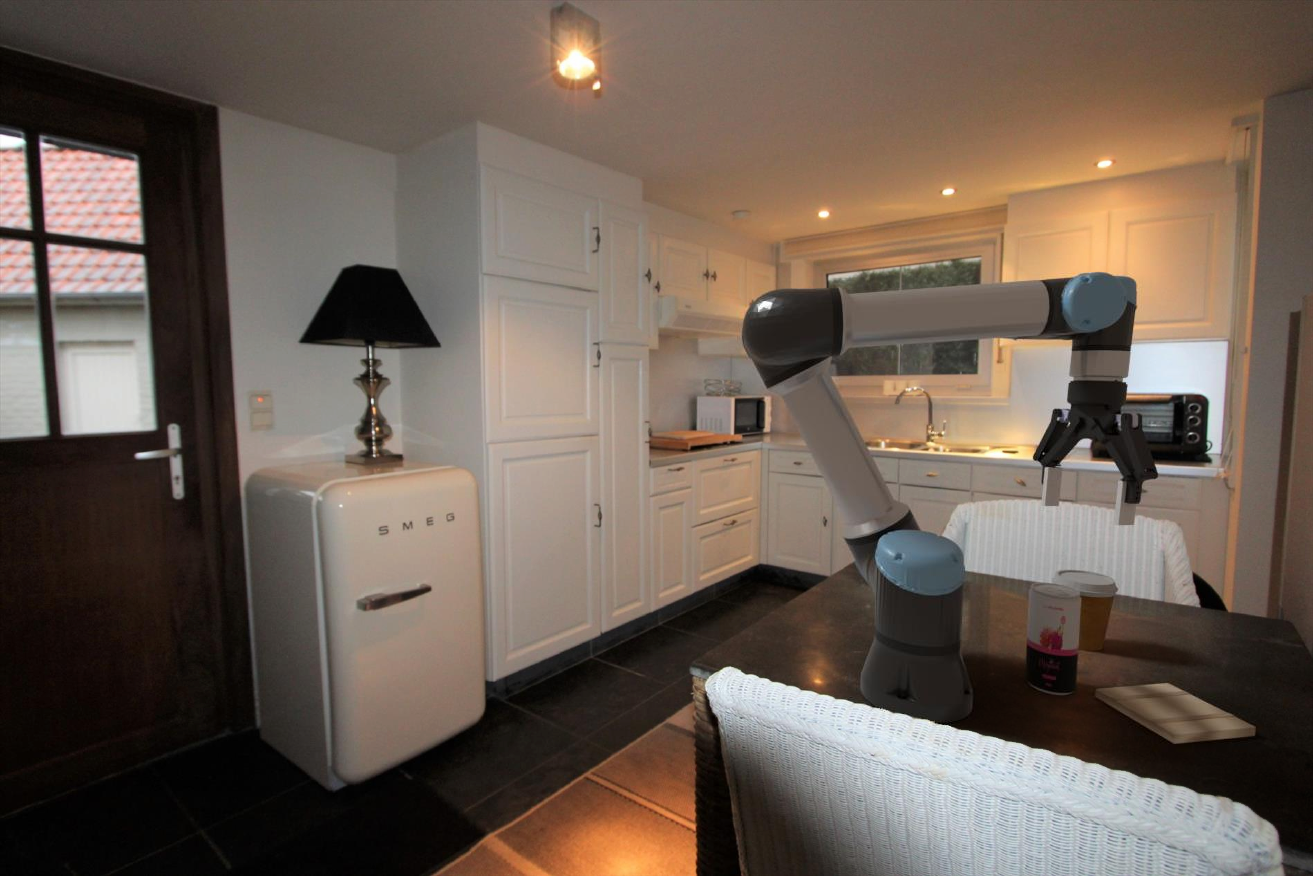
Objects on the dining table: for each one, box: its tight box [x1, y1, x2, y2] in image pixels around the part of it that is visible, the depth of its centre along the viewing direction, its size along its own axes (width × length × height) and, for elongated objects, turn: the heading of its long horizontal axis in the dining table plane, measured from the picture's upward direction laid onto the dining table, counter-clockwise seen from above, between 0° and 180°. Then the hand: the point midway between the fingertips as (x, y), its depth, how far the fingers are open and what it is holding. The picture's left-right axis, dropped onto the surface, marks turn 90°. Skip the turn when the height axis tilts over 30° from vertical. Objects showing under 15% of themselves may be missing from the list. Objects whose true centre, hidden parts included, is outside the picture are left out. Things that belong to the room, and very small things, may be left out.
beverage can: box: [1024, 582, 1081, 696], centre depth 94 cm, size 6×7×15 cm
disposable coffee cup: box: [1051, 569, 1119, 652], centre depth 109 cm, size 10×10×12 cm
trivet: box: [1094, 682, 1256, 744], centre depth 86 cm, size 12×12×1 cm
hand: (1084, 514), depth 99 cm, fingers open, 13 cm apart
